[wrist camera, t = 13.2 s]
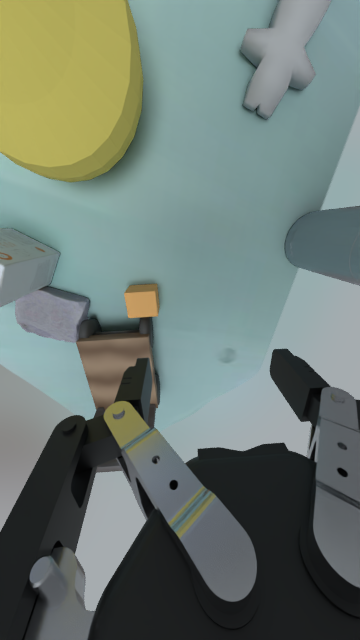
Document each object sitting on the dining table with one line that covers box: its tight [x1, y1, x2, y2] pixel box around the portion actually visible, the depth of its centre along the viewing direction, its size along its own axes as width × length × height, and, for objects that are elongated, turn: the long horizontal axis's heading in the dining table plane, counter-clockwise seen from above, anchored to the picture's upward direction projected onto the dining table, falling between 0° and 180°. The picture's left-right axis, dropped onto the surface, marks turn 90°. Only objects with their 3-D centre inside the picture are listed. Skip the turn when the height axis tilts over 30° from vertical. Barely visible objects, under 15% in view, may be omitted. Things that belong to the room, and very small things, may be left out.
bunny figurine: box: [240, 0, 331, 119], centre depth 23 cm, size 10×5×15 cm
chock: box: [124, 284, 159, 318], centre depth 36 cm, size 5×4×5 cm
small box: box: [0, 228, 60, 307], centre depth 29 cm, size 8×6×13 cm
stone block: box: [15, 286, 89, 343], centre depth 38 cm, size 12×5×10 cm
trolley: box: [76, 317, 160, 473], centre depth 35 cm, size 20×12×18 cm, turn 3°
